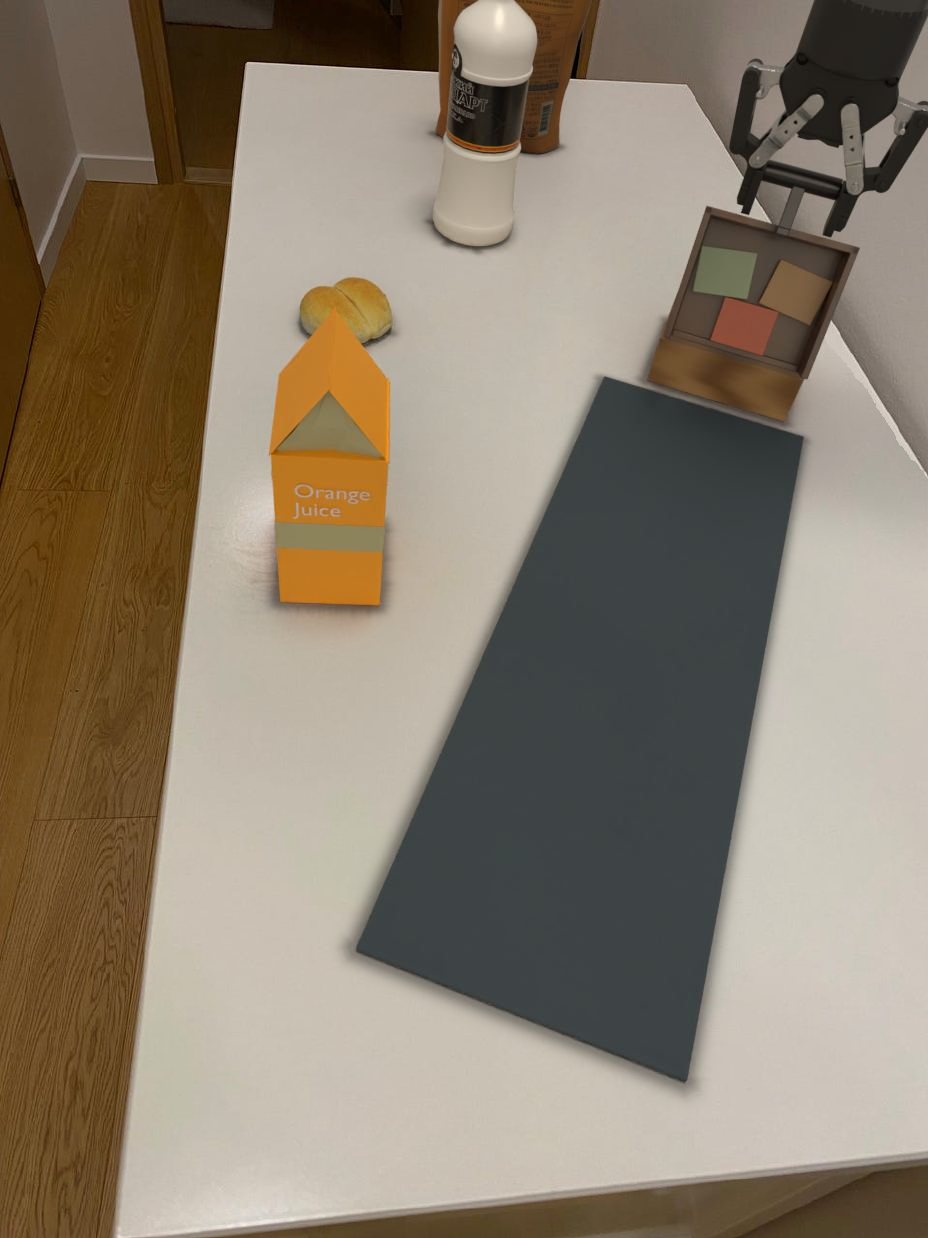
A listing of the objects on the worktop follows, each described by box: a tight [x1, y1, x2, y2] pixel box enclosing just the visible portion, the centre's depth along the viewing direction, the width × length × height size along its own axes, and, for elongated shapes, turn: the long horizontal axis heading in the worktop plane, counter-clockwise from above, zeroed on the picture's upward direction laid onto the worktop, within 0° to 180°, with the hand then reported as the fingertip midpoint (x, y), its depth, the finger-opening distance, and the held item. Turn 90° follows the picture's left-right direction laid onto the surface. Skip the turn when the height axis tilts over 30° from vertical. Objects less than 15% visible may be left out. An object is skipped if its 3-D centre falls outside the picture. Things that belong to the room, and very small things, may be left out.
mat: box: [355, 376, 805, 1082], centre depth 73 cm, size 20×61×1 cm, turn 161°
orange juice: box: [268, 307, 391, 606], centre depth 67 cm, size 8×9×20 cm
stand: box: [646, 291, 805, 422], centre depth 95 cm, size 14×12×5 cm
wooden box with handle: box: [663, 159, 861, 380], centre depth 82 cm, size 13×15×10 cm
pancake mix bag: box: [434, 0, 593, 155], centre depth 113 cm, size 7×19×28 cm, turn 90°
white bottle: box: [432, 0, 537, 247], centre depth 98 cm, size 9×9×30 cm
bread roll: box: [299, 276, 394, 345], centre depth 93 cm, size 8×9×4 cm
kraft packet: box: [759, 259, 833, 325], centre depth 85 cm, size 5×4×2 cm
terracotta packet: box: [710, 296, 779, 356], centre depth 87 cm, size 5×4×2 cm
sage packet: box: [692, 245, 758, 299], centre depth 86 cm, size 5×4×2 cm
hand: (786, 220), depth 76 cm, fingers closed on wooden box with handle, 6 cm apart
